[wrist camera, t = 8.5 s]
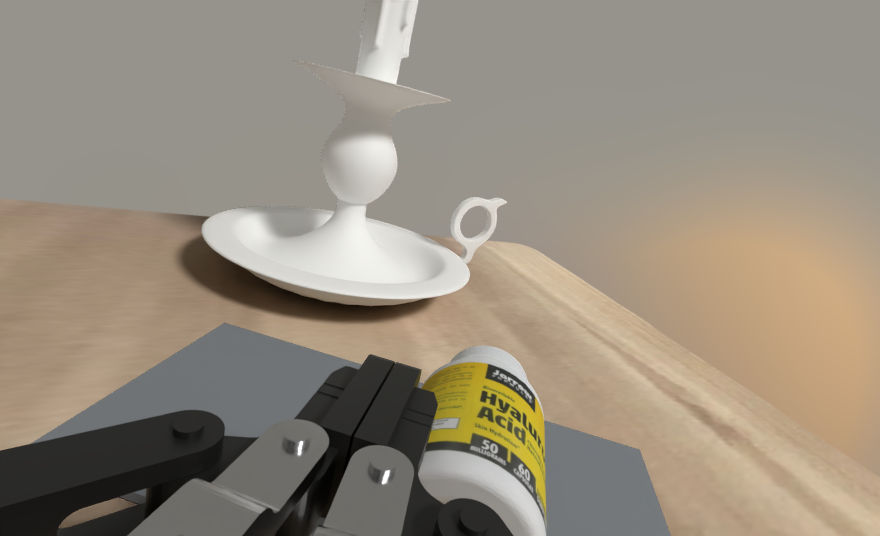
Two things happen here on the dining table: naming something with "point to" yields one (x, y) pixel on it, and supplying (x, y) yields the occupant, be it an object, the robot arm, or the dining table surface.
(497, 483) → the supplement bottle
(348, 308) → the dining table surface
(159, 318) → the dining table surface
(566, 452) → the mat
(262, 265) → the candlestick
